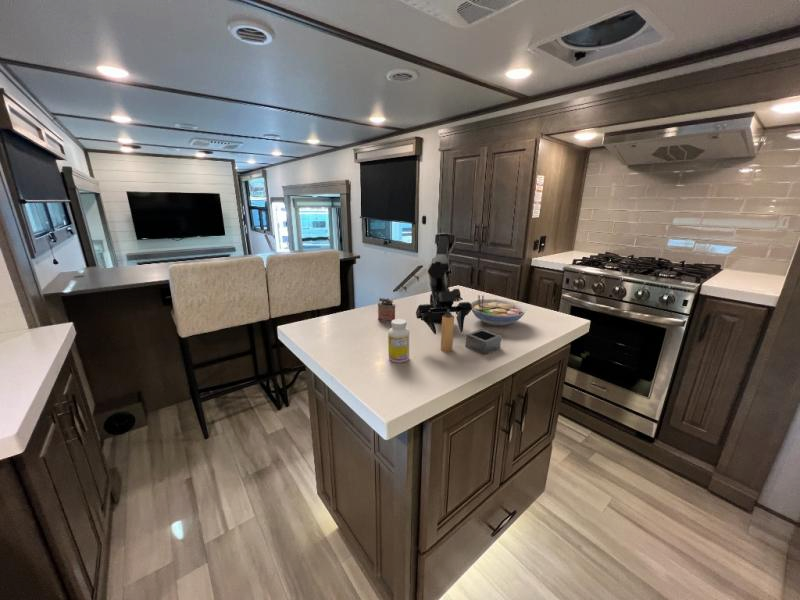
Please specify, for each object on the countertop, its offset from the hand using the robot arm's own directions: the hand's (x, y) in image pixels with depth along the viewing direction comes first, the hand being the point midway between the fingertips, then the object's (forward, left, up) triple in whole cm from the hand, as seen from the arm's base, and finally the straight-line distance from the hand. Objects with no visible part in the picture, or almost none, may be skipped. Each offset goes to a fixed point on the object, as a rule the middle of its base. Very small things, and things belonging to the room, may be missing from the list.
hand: (448, 333), depth 104 cm
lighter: (-29, +22, -7) cm, 37 cm away
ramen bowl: (+16, +32, -7) cm, 37 cm away
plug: (-1, +1, -7) cm, 7 cm away
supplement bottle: (-15, -10, -7) cm, 19 cm away
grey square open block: (+11, +6, -7) cm, 15 cm away
